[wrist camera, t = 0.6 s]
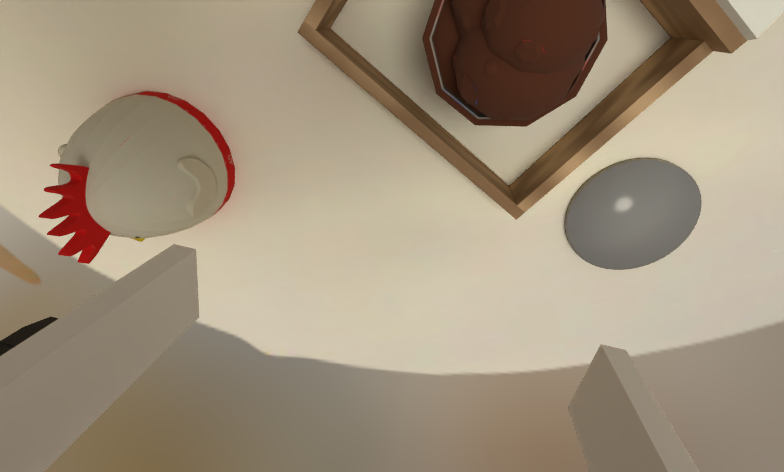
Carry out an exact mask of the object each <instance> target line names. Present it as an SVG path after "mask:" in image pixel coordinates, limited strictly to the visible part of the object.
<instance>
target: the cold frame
mask: <svg viewBox="0 0 784 472" xmlns="http://www.w3.org/2000/svg"><path fill="white" fill-rule="evenodd" d="M640 1H641V2H642V3H643V4H644V5H645V7H646V8H647V9H648V10H649V11H650V13H651V14H652V15H653V16H654V17H655V18H656V20H657V21H658V22H659V23H660V24H661V26H662V27H663V28H664V29H665V30H666V32H667V33H668V34H669V35H670V36H671V38H670V39H669V40H668V41H667V42H666V43H665V44H664V45H663V46H662V47H661V48H659V49H658V50H657V51H656V52H655V53H654V54H653V55H652V56H651V57H650V58H649V59H647V60H646V61H645V62H644V63H643V64H642V65H641V66H640V67H639V68H638V69H637V70H635V71H634V72H633V73H632V74H631V75H630V76H629V77H628V78H627V79H626V80H625V81H623V82H622V83H621V84H620V85H619V86H618V87H617V88H616V89H615V90H614V91H613V92H611V93H610V94H609V95H608V96H607V97H606V98H605V99H604V100H603V101H602V102H601V103H599V104H598V105H597V106H596V107H595V108H594V109H593V110H592V111H591V112H590V113H589V114H588V115H586V116H585V117H584V118H583V119H582V120H581V121H580V122H579V123H578V124H577V125H576V126H574V127H573V128H572V129H571V130H570V131H569V132H568V133H567V134H566V135H565V136H564V137H562V138H561V139H560V140H559V141H558V142H557V143H556V144H555V145H554V146H553V147H552V148H550V149H549V150H548V151H547V152H546V153H545V154H544V155H543V156H542V157H541V158H540V159H538V160H537V161H536V162H535V163H534V164H533V165H532V166H531V167H530V168H529V169H528V170H526V171H525V172H524V173H523V174H522V175H521V176H520V177H519V178H518V179H517V180H516V181H514V182H513V183H512V184H511V185H510V186H509V185H507V184H506V183H505V182H504V181H503V180H502V179H501V178H500V177H498V176H497V175H496V174H495V173H494V172H493V171H492V170H490V169H489V168H488V167H487V166H486V165H485V164H484V163H483V162H481V161H480V160H479V159H478V158H477V157H476V156H475V155H473V154H472V153H471V152H470V151H469V150H468V149H467V148H465V147H464V146H463V145H462V144H461V143H460V142H459V141H458V140H456V139H455V138H454V137H453V136H452V135H451V134H450V133H448V132H447V131H446V130H445V129H444V128H443V127H442V126H440V125H439V124H438V123H437V122H436V121H435V120H434V119H433V118H431V117H430V116H429V115H428V114H427V113H426V112H425V111H423V110H422V109H421V108H420V107H419V106H418V105H417V104H416V103H414V102H413V101H412V100H411V99H410V98H409V97H408V96H406V95H405V94H404V93H403V92H402V91H401V90H400V89H398V88H397V87H396V86H395V85H394V84H393V83H392V82H391V81H389V80H388V79H387V78H386V77H385V76H384V75H383V74H381V73H380V72H379V71H378V70H377V69H376V68H375V67H374V66H372V65H371V64H370V63H369V62H368V61H367V60H366V59H364V58H363V57H362V56H361V55H360V54H359V53H358V52H356V51H355V50H354V49H353V48H352V47H351V46H350V45H349V44H347V43H346V42H345V41H344V40H343V39H342V38H341V37H339V36H338V35H337V34H336V33H335V32H334V31H333V30H331V29H330V27H331V26H332V24H333V22H334V21H335V19H336V18H337V16H338V14H339V13H340V11H341V10H342V8H343V6H344V5H345V3H346V2H347V0H316V1H315V3H314V5H313V6H312V8H311V10H310V12H309V13H308V15H307V17H306V18H305V20H304V22H303V24H302V25H301V27H300V29H299V30H298V33H299V34H300V35H301V36H302V37H304V38H305V39H306V40H307V41H308V42H309V43H311V44H312V45H313V46H314V47H315V48H316V49H318V50H319V51H320V52H321V53H322V54H324V55H325V56H326V57H327V58H328V59H329V60H331V61H332V62H333V63H334V64H335V65H336V66H338V67H339V68H340V69H341V70H342V71H343V72H345V73H346V74H347V75H348V76H349V77H350V78H352V79H353V80H354V81H355V82H356V83H357V84H359V85H360V86H361V87H362V88H363V89H364V90H366V91H367V92H368V93H369V94H370V95H371V96H373V97H374V98H375V99H376V100H377V101H378V102H380V103H381V104H382V105H383V106H384V107H385V108H387V109H388V110H389V111H390V112H391V113H392V114H394V115H395V116H396V117H397V118H398V119H399V120H401V121H402V122H403V123H404V124H405V125H406V126H408V127H409V128H410V129H411V130H412V131H413V132H415V133H416V134H417V135H418V136H419V137H420V138H422V139H423V140H424V141H425V142H426V143H427V144H429V145H430V146H431V147H432V148H433V149H434V150H436V151H437V152H438V153H439V154H440V155H441V156H443V157H444V158H445V159H446V160H447V161H448V162H450V163H451V164H452V165H453V166H454V167H455V168H457V169H458V170H459V171H460V172H461V173H463V174H464V175H465V176H466V177H467V178H468V179H470V180H471V181H472V182H473V183H474V184H475V185H477V186H478V187H479V188H480V189H481V190H482V191H484V192H485V193H486V194H487V195H488V196H489V197H491V198H492V199H493V200H494V201H495V202H496V203H498V204H499V205H500V206H501V207H502V208H503V209H505V210H506V211H507V212H508V213H509V214H510V215H512V216H513V217H514V218H515V219H518V218H519V217H520V216H521V215H522V214H523V213H525V212H526V211H527V210H528V209H529V208H530V207H532V206H533V205H534V204H535V203H536V202H537V201H539V200H540V199H541V198H542V197H543V196H544V195H546V194H547V193H548V192H549V191H550V190H551V189H553V188H554V187H555V186H556V185H557V184H558V183H560V182H561V181H562V180H563V179H564V178H565V177H567V176H568V175H569V174H570V173H571V172H572V171H574V170H575V169H576V168H577V167H578V166H579V165H581V164H582V163H583V162H584V161H585V160H586V159H588V158H589V157H590V156H591V155H592V154H593V153H595V152H596V151H597V150H598V149H599V148H600V147H602V146H603V145H604V144H605V143H606V142H607V141H609V140H610V139H611V138H612V137H613V136H614V135H616V134H617V133H618V132H619V131H620V130H621V129H623V128H624V127H625V126H626V125H627V124H628V123H630V122H631V121H632V120H633V119H634V118H635V117H637V116H638V115H639V114H640V113H641V112H642V111H644V110H645V109H646V108H647V107H648V106H649V105H651V104H652V103H653V102H654V101H655V100H656V99H658V98H659V97H660V96H661V95H662V94H663V93H665V92H666V91H667V90H668V89H669V88H670V87H672V86H673V85H674V84H675V83H676V82H677V81H679V80H680V79H681V78H682V77H683V76H684V75H686V74H687V73H688V72H689V71H690V70H691V69H693V68H694V67H695V66H696V65H697V64H698V63H700V62H701V61H702V60H703V59H704V58H705V57H707V56H708V55H709V54H710V53H711V52H712V51H717V52H725V53H733V52H734V51H735V50H736V49H738V48H739V47H740V46H741V45H742V44H744V43H745V42H746V41H747V40H746V39H745V38H744V36H743V35H742V34H741V32H740V31H739V30H738V29H737V27H736V26H735V25H734V23H733V22H732V21H731V20H730V18H729V17H728V16H727V14H726V13H725V12H724V11H723V9H722V8H721V7H720V5H719V4H718V3H717V2H716V0H640Z"/></svg>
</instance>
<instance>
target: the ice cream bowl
mask: <svg viewBox="0 0 784 472" xmlns="http://www.w3.org/2000/svg"><path fill="white" fill-rule="evenodd" d="M605 2H606V1H605V0H435V1H434V4H433V7H432V11H431V14H430V17H429V20H428V23H427V26H426V29H425V32H424V35H423V38H422V39H423V43H424V47H425V51H426V54H427V58H428V62H429V66H430V70H431V74H432V78H433V82H434V86H435V90H436V93H437V94H438V95H439V96H440V97H441V98H443V99H444V100H445V101H446V102H448V103H449V104H450V105H451V106H452V107H454V108H455V109H456V110H457V111H459V112H460V113H461V114H462V115H463V116H465V117H466V118H467V119H468V120H470V121H471V122H472V123H473V124H474V125H492V126H528V125H530V124H531V123H533V122H535V121H536V120H538V119H539V118H541V117H543V116H544V115H546V114H548V113H549V112H551V111H553V110H554V109H556V108H558V107H559V106H561V105H562V104H564V103H566V102H567V101H569V100H571V99H572V98H574V97H576V95H577V93H578V92H579V90H580V88H581V86H582V85H583V83H584V81H585V79H586V77H587V76H588V74H589V72H590V70H591V68H592V67H593V65H594V63H595V61H596V59H597V58H598V56H599V54H600V52H601V50H602V49H603V47H604V45H605V43H606V41H607V22H606V3H605Z"/></svg>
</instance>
